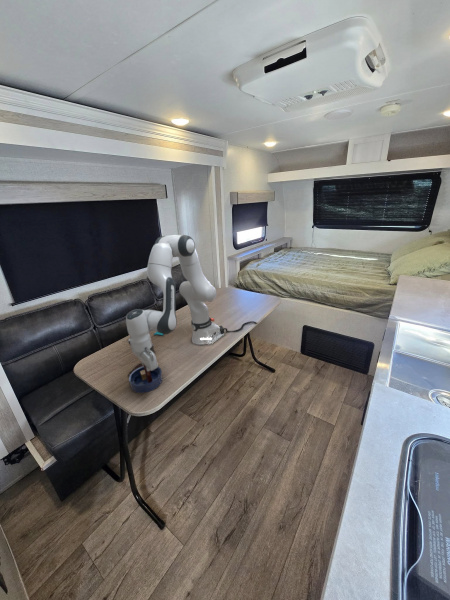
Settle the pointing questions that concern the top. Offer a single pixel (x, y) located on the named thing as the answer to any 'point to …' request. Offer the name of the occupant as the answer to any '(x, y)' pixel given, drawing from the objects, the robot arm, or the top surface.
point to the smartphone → (158, 334)
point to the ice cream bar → (135, 368)
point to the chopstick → (148, 375)
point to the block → (143, 374)
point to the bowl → (143, 385)
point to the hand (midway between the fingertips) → (147, 368)
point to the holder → (152, 349)
